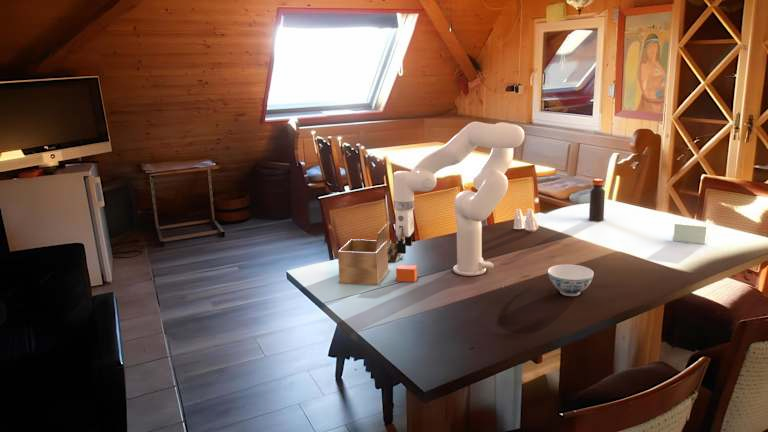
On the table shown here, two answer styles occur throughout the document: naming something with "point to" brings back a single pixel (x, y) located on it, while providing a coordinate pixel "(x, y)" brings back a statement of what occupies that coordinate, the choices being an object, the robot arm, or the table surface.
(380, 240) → the flap
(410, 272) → the block
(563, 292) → the chinaware
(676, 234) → the l-shaped corner panel
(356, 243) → the carton
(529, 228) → the shaker set
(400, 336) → the table surface
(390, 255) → the chocolate cake
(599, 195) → the bottle
